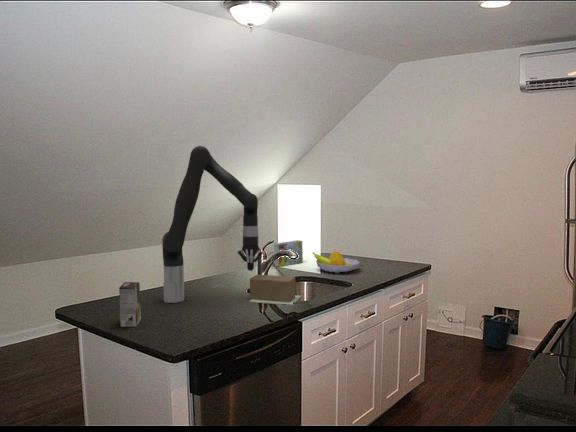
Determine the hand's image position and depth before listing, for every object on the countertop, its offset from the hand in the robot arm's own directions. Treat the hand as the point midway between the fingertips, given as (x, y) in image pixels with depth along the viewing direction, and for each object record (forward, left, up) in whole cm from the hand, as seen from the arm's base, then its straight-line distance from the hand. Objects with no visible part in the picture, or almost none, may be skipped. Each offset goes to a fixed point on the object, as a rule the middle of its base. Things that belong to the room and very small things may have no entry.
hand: (250, 270), depth 238 cm
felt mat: (0, -13, -14) cm, 19 cm away
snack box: (+86, +5, -14) cm, 87 cm away
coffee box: (-51, +33, -14) cm, 62 cm away
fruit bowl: (+74, -29, -14) cm, 81 cm away
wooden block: (0, -1, -8) cm, 8 cm away
